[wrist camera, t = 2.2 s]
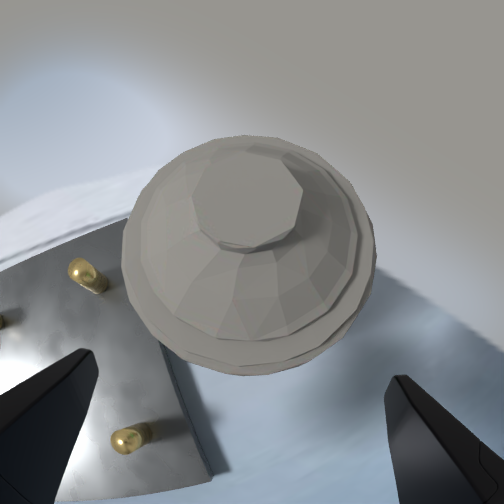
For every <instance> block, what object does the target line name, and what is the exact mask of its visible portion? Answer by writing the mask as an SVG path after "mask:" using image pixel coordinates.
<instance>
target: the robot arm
mask: <svg viewBox="0 0 504 504" xmlns="http://www.w3.org/2000/svg"><path fill="white" fill-rule="evenodd" d="M98 376H99V368H98V365H97V362H96V359H95V356H94V353H93V351H92V350H90V349H85V348H79V349H77V350H75V351H74V352H72V353H70V354H68V355H67V356H65V357H63V358H62V359H60V360H58V361H57V362H55V363H53V364H51V365H50V366H48V367H46V368H45V369H43V370H41V371H40V372H38V373H36V374H34V375H33V376H31V377H29V378H28V379H26V380H24V381H23V382H21V383H19V384H17V385H16V386H14V387H12V388H11V389H9V390H7V391H6V392H4V393H2V394H0V504H54V502H55V499H56V496H57V493H58V490H59V487H60V484H61V481H62V478H63V475H64V473H65V470H66V467H67V465H68V462H69V459H70V456H71V454H72V451H73V449H74V446H75V443H76V441H77V438H78V436H79V433H80V431H81V428H82V426H83V423H84V421H85V418H86V416H87V413H88V410H89V406H90V403H91V399H92V396H93V392H94V389H95V386H96V383H97V379H98ZM384 404H385V413H386V423H387V434H388V443H389V448H390V453H391V458H392V463H393V469H394V474H395V480H396V485H397V491H398V497H399V503H400V504H504V460H503V459H502V458H501V457H499V456H498V455H497V454H496V453H495V452H493V451H492V450H491V449H490V448H489V447H488V446H486V445H485V444H484V443H483V442H482V441H480V439H479V438H477V437H476V436H475V435H474V434H473V433H472V432H471V431H470V430H468V429H467V428H466V427H465V426H464V425H463V424H462V423H461V422H460V421H458V420H457V419H456V418H455V417H454V416H453V415H452V414H451V413H449V412H448V411H447V410H446V409H445V408H444V407H443V406H442V405H440V404H439V403H438V402H437V401H436V400H435V399H434V398H433V397H431V396H430V395H429V394H428V393H427V392H426V391H425V390H423V389H422V388H421V387H420V386H419V385H418V384H417V383H416V382H414V381H413V380H412V379H411V378H410V377H409V376H407V375H395V376H393V377H392V379H391V381H390V384H389V386H388V388H387V390H386V392H385V395H384Z"/></svg>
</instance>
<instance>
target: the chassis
mask: <svg viewBox="0 0 504 504" xmlns="http://www.w3.org/2000/svg"><path fill="white" fill-rule="evenodd" d="M127 221H128V218H126V219H123V220H121V221H118V222H115V223H113V224H110V225H108V226H105V227H103V228H100V229H97V230H95V231H92V232H90V233H88V234H85V235H83V236H80V237H78V238H75V239H73V240H71V241H68V242H66V243H63V244H61V245H59V246H56V247H54V248H52V249H49V250H47V251H45V252H43V253H40V254H38V255H36V256H34V257H31V258H29V259H27V260H25V261H23V262H20V263H18V264H16V265H14V266H12V267H10V268H8V269H5V270H3V271H1V272H0V394H2V393H4V392H6V391H7V390H9V389H11V388H12V387H14V386H16V385H17V384H19V383H21V382H23V381H24V380H26V379H28V378H29V377H31V376H33V375H34V374H36V373H38V372H40V371H41V370H43V369H45V368H46V367H48V366H50V365H51V364H53V363H55V362H57V361H58V360H60V359H62V358H63V357H65V356H67V355H68V354H70V353H72V352H74V351H75V350H77V349H79V348H85V349H90V350H92V351H93V353H94V356H95V359H96V362H97V365H98V368H99V376H98V379H97V383H96V386H95V389H94V392H93V396H92V399H91V403H90V406H89V410H88V413H87V416H86V418H85V421H84V423H83V426H82V428H81V431H80V433H79V436H78V438H77V441H76V443H75V446H74V449H73V451H72V454H71V456H70V459H69V462H68V465H67V467H66V470H65V473H64V475H63V478H62V481H61V484H60V487H59V490H58V493H57V496H56V499H55V501H87V500H102V499H114V498H123V497H131V496H139V495H146V494H152V493H158V492H164V491H169V490H175V489H180V488H184V487H189V486H194V485H198V484H202V483H206V482H210V481H212V478H213V476H214V475H213V473H212V471H211V469H210V467H209V464H208V462H207V460H206V457H205V455H204V453H203V450H202V448H201V446H200V443H199V441H198V438H197V436H196V433H195V431H194V428H193V426H192V423H191V421H190V418H189V415H188V413H187V410H186V408H185V405H184V402H183V399H182V397H181V394H180V391H179V388H178V386H177V383H176V380H175V377H174V374H173V371H172V368H171V365H170V362H169V359H168V356H167V353H166V350H165V347H164V344H163V343H161V342H160V341H159V340H158V339H157V338H155V337H154V336H153V335H152V334H151V333H150V331H149V330H148V328H147V327H146V325H145V324H144V322H143V321H142V319H141V318H140V316H139V315H138V314H137V312H136V310H135V309H134V307H133V306H132V304H131V303H130V301H129V298H128V294H127V290H126V286H125V281H124V277H123V273H122V268H121V261H122V242H123V230H124V228H125V226H126V224H127Z"/></svg>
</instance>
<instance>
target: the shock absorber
mask: <svg viewBox="0 0 504 504" xmlns="http://www.w3.org/2000/svg"><path fill="white" fill-rule="evenodd" d="M376 258H377V255H376V247H375V239H374V231H373V225H372V222H371V220H370V218H369V216H368V214H367V212H366V211H365V208H364V206H363V204H362V202H361V201H360V199H359V197H358V195H357V194H356V192H355V190H354V188H353V186H352V184H351V183H350V182H349V181H348V180H347V179H346V178H345V177H344V176H343V175H342V174H340V173H339V172H338V171H337V170H336V169H335V168H334V167H332V166H331V165H330V164H329V163H328V162H327V161H325V160H324V159H323V158H322V157H321V156H320V155H318V154H317V153H315V152H312V151H310V150H307V149H305V148H303V147H300V146H297V145H295V144H292V143H290V142H287V141H285V140H282V139H279V138H273V137H262V136H248V135H242V136H234V137H227V138H220V139H214V140H211V141H209V142H207V143H204V144H202V145H199V146H197V147H195V148H192V149H190V150H188V151H185V152H183V153H182V154H180V155H179V156H178V157H176V158H175V159H173V160H172V161H171V162H169V163H168V164H166V165H165V166H164V167H162V168H161V169H160V170H158V172H157V173H156V174H155V176H154V177H153V178H152V179H151V181H150V182H149V183H148V184H147V185H146V186H145V188H144V189H143V190H142V191H141V193H140V195H139V197H138V199H137V201H136V203H135V206H134V208H133V210H132V212H131V215H130V217H129V219H128V221H127V224H126V226H125V228H124V230H123V242H122V261H121V268H122V273H123V277H124V281H125V286H126V290H127V294H128V298H129V301H130V303H131V304H132V306H133V307H134V309H135V310H136V312H137V314H138V315H139V316H140V318H141V319H142V321H143V322H144V324H145V325H146V327H147V328H148V330H149V331H150V333H151V334H152V335H153V336H154V337H155V338H157V339H158V340H159V341H160V342H161V343H163V344H164V345H165V346H166V347H168V348H169V349H170V350H171V351H173V352H174V353H175V354H176V355H178V356H179V357H180V358H182V359H183V360H185V361H187V362H190V363H193V364H196V365H199V366H202V367H206V368H209V369H212V370H215V371H218V372H222V373H225V374H231V375H239V376H255V375H269V374H273V373H276V372H280V371H284V370H288V369H291V368H295V367H298V366H301V365H303V364H305V363H307V362H309V361H311V360H312V359H313V358H315V357H316V356H318V355H319V354H321V353H322V352H324V351H325V350H326V349H328V348H329V347H331V346H332V345H333V344H335V343H336V342H338V341H339V340H340V339H342V338H343V337H344V335H345V334H346V332H347V331H348V329H349V328H350V326H351V325H352V323H353V321H354V320H355V318H356V317H357V315H358V314H359V312H360V310H361V309H362V307H363V306H364V304H365V303H366V301H367V299H368V298H369V296H370V294H371V289H372V283H373V277H374V271H375V265H376Z"/></svg>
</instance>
